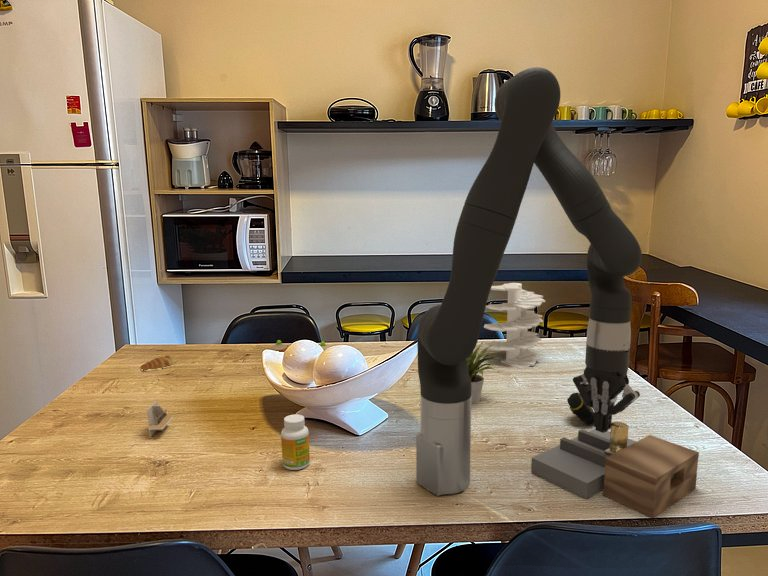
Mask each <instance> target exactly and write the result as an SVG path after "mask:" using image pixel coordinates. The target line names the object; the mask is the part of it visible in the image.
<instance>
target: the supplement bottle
mask: <svg viewBox="0 0 768 576" xmlns="http://www.w3.org/2000/svg"><path fill="white" fill-rule="evenodd" d="M305 421H306V420H305V416H304V415H302V414H297V413H295V414H290V415H287V416H285V417H284V418H283V425H284V427H283V428H282V430H281V432H280V434H281V437H280V438H281V457H282V458H281V460H282V461H281V462H282V466H283V467H284V468H285V469H287V470H290V471H291V470H292V471H297V470H302V469H305V468H307V467H308V466H309V464H310V462H311V460H310V459H311V457H310V455H311V454H310V436H309V435H310V431H309V429H308V427H307V425H305Z"/></svg>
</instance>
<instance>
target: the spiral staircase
mask: <svg viewBox="0 0 768 576" xmlns="http://www.w3.org/2000/svg"><path fill="white" fill-rule="evenodd" d="M522 287H523V284H522V283H520V282H508V283H503V284H501V285H492V287H491V290H490V291H499V292H500V291H501V292H502V291H503V292H507V302H502V303H498V304H493V303H492V304H490V303H488V305H487V304H486V307H485V309H486V308H487V309H488V310H494V311H500V312H502V311H506V313H507V315H506V321H505V322H499V323H495V322H493V323H485V324H484V326H483V328H484V329H485V330H489V331H496V332H503V333H504V332H506V341H501V340H500V341H495V340H492V341H484V342H483V344H482V345H481V346H482V347H483V348H486V347H488V346H491V345H492V346H491V347H490V348H488V349H487V350H492V351H496V352H502V351H505V354H506V355H505V359H504V360H501V361H500V363H502V364H505V365H508V366H511V367H513V368H516V369H518V368H519V369H518V370H522V369H523V368H524V369H526V367H527V368H530V367H531V366H532V367H534V365H536V364H537V361H541V359H540V358H539V357H538V356H537V355H538V352H537V351H533V350H530V349H532V348H533V347H537V345H538V343H539V342H541V341H542V338H540V337H539V336H538V335H539V333H537V332H533V331H529V329H532V328H536V327H538V326H539V325H541V324H540V323H544V320H543V319H542V318H543V315H542V314H538V313H535V311H534V310H533V309H536V307H540V306H541V305H543V304H542V303H546V300H545V299H544V295H543V294H542V295H540V294H536V293H535V291H528V290H526V289H523V288H522ZM530 309H532V310H530ZM529 366H530V367H529ZM524 369H523V370H524Z"/></svg>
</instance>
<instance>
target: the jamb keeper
mask: <svg viewBox="0 0 768 576" xmlns="http://www.w3.org/2000/svg"><path fill="white" fill-rule="evenodd" d="M699 455H700V452H699V451H697V450H694V449H691V448H688V447H685V446H683V445H680V444H677V443H673V442H671V441H668V440H666V439H662V438H661V437H660V438H659V437H657V436H653V435H651V434H648V435H647V436H646V437H643V438H642V439H640V440H638V441H636V442H635V443H634V444H632V445H630V446H628V447H626V448H624V449H622V450H620V451H618V452H616V453H614V454H612V455H611V456H609V457H607V458H605V477H604V488H603V490H602V491H603V492H602V496H605V497H606V498H609V499H611V500H613V501H615V502H617V503H619V504H622V505H624V506H626V507H628V508H631V509H633V510H635V511H636V512H638V513H640V514H643V515H644V516H647V517H650V518H652V519H654V518H656V517H657V516H658V515H659V514H661V513H663V512H664V511H665V510H667V509H668V508H669V507H671V506H672V505H674V504H675V503H677V502H679V501H680V500H681V499H682V498H684V497H685V496H687V495H688V494H689V493H691V492H693V491H694V490H695V489H697V488H696V487H697V478H698V477H697V476H698V465H699V464H698V463H699ZM673 474H674V478H672V479H671V476H672V475H673Z"/></svg>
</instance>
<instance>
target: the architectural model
mask: <svg viewBox="0 0 768 576" xmlns="http://www.w3.org/2000/svg"><path fill="white" fill-rule="evenodd" d="M146 410H147V420H148V431H149V432H148V433H149V438H152V437H153V435H154V434H155V433H156V432H163V431H165V428H166V427H168V423H170V421H172V419H173V418H174V415H172V414H171V415H168V413H167V409H165V410H164V409H163V408H162V406H161V405H159V403H158V400H155V401H154V403H153V402H152V404H151V405H150V406H149V407H148V408H147V409H146Z"/></svg>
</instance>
